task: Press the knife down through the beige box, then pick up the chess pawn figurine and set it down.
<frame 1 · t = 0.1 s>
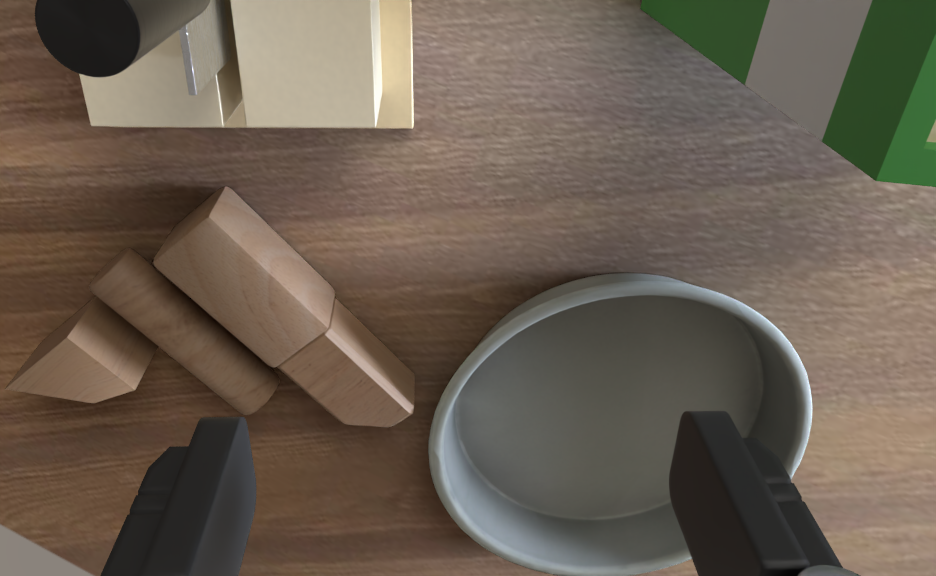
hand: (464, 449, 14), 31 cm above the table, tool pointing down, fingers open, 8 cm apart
cake pan: (605, 405, 53), on the table
wooden block set: (229, 349, 49), on the table
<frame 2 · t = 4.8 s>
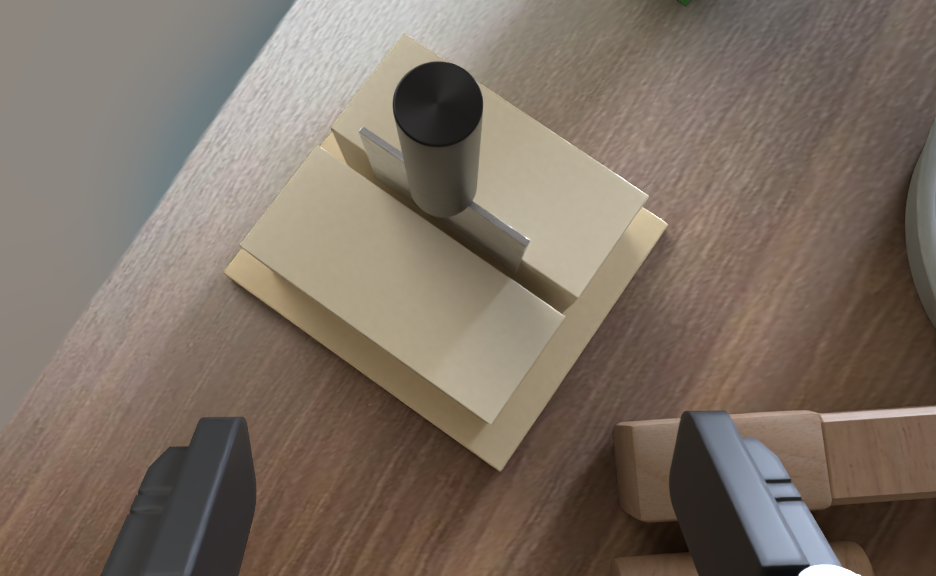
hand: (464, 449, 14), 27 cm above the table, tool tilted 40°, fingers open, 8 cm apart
knife: (442, 177, 29), point 14 cm above the table, slide at 0.0 cm
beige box: (447, 252, 42), on the table
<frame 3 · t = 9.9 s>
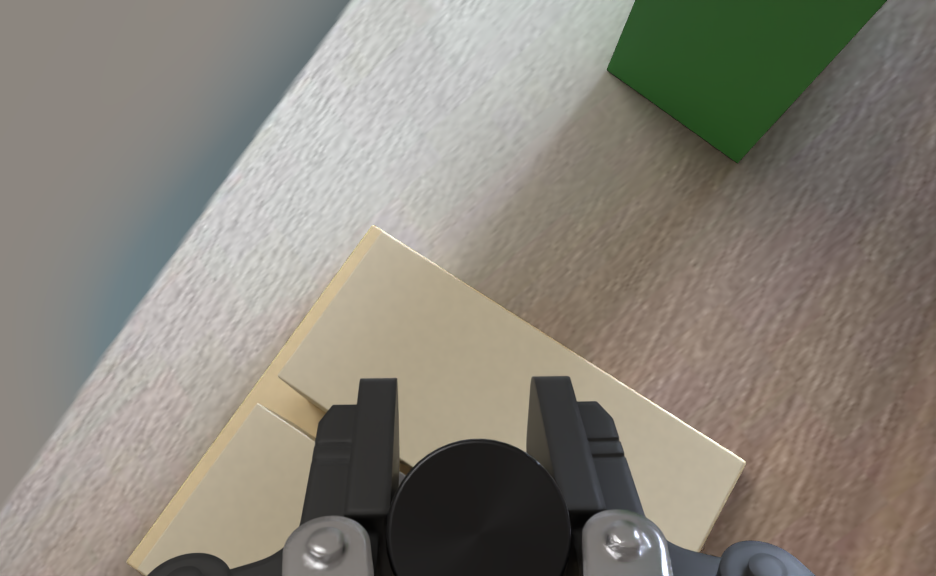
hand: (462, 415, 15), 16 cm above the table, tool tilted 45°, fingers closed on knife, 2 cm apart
knife: (459, 519, 17), point 13 cm above the table, slide at 0.1 cm, touching gripper
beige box: (446, 510, 30), on the table
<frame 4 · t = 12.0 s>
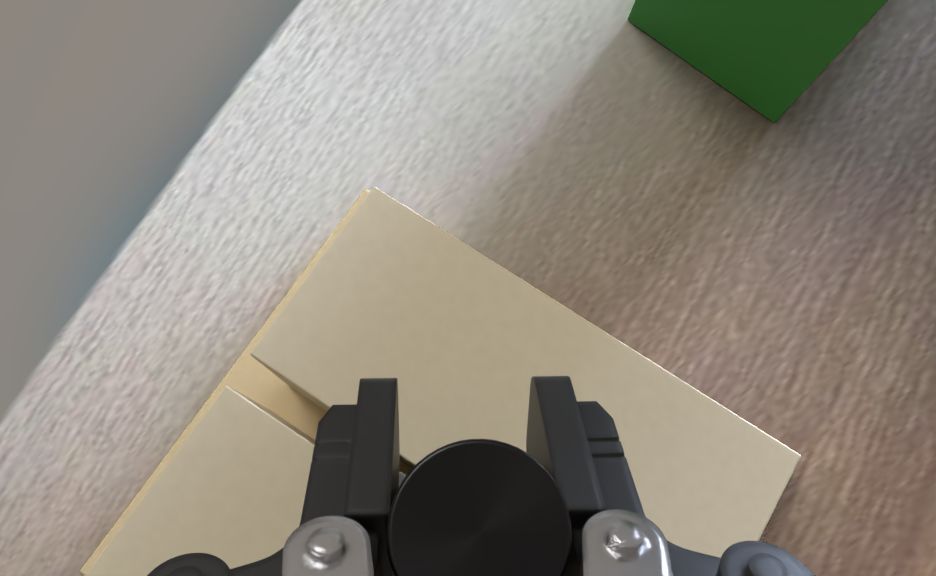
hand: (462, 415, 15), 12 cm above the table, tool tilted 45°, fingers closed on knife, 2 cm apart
knife: (459, 519, 17), point 10 cm above the table, slide at 4.0 cm, touching gripper
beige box: (449, 512, 27), on the table
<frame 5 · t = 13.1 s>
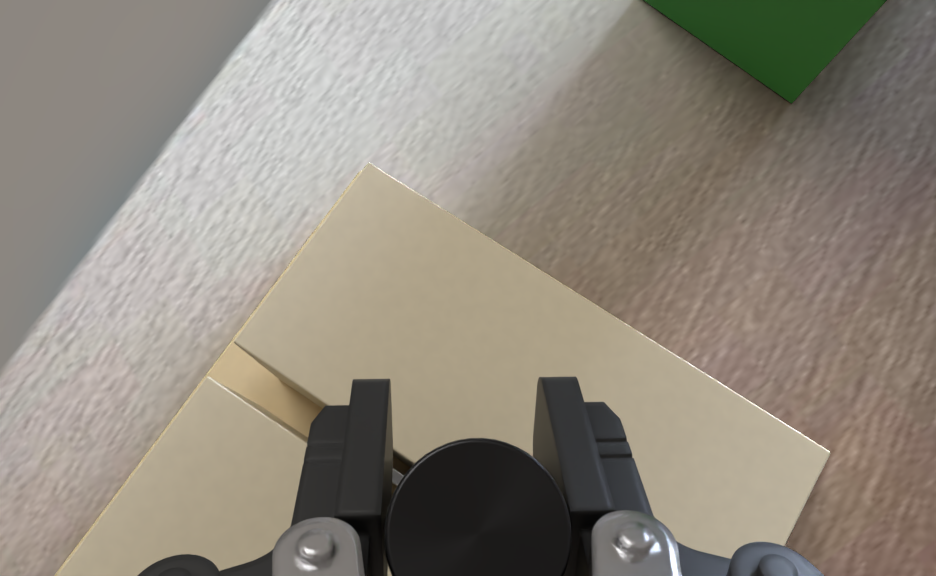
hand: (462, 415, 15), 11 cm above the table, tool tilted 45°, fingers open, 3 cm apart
knife: (458, 519, 17), point 8 cm above the table, slide at 5.5 cm, touching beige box
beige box: (448, 513, 25), on the table
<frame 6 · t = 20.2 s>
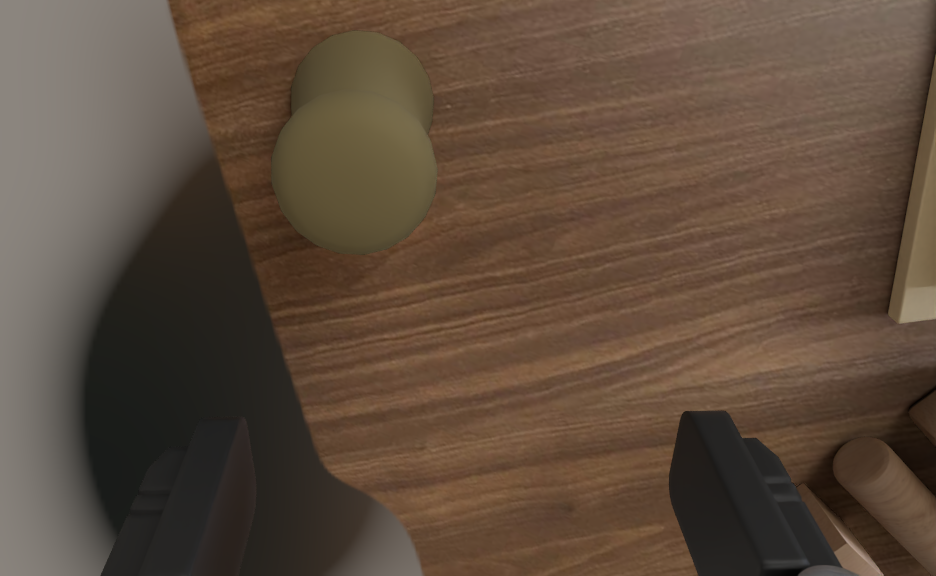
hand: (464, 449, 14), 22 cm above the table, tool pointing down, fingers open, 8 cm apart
chess pawn figurine: (363, 103, 33), on the table
wooden block set: (908, 516, 47), on the table
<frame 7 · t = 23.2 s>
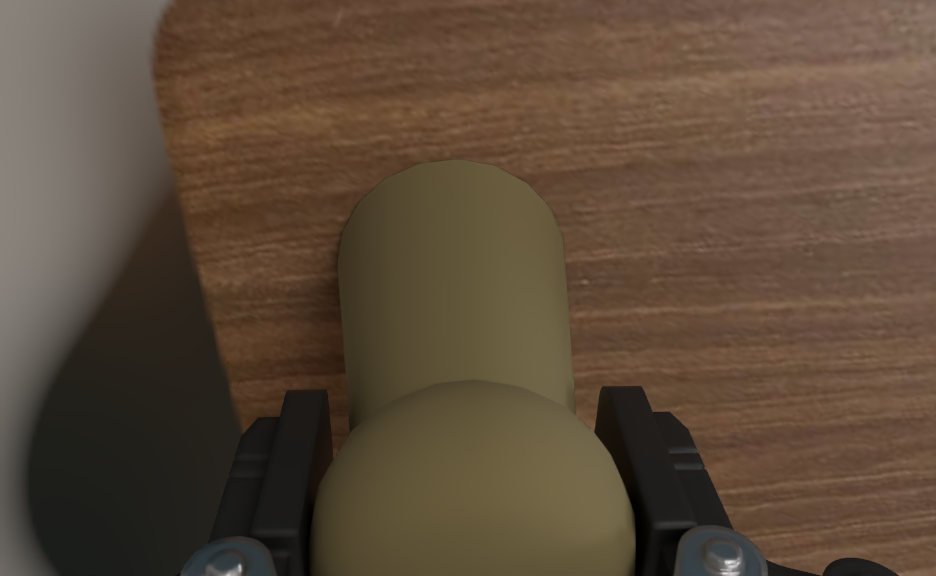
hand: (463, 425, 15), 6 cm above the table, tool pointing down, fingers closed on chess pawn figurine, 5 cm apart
chess pawn figurine: (451, 263, 21), on the table, touching gripper
when the fingers open (6 cm above the table, at t = 30.0 s): chess pawn figurine stays where it is, on the table.
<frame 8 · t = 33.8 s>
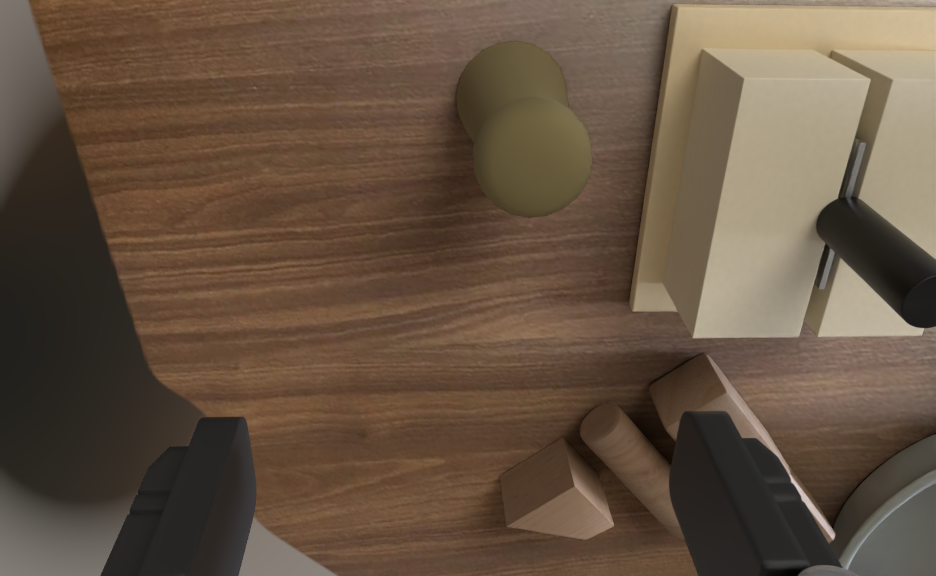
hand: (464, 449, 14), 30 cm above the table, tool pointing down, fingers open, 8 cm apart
knife: (851, 228, 37), point 8 cm above the table, slide at 5.5 cm, touching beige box
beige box: (784, 169, 44), on the table
chess pawn figurine: (511, 97, 42), on the table
wooden block set: (656, 478, 56), on the table
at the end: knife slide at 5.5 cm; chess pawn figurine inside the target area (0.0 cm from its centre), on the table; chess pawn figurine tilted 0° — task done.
